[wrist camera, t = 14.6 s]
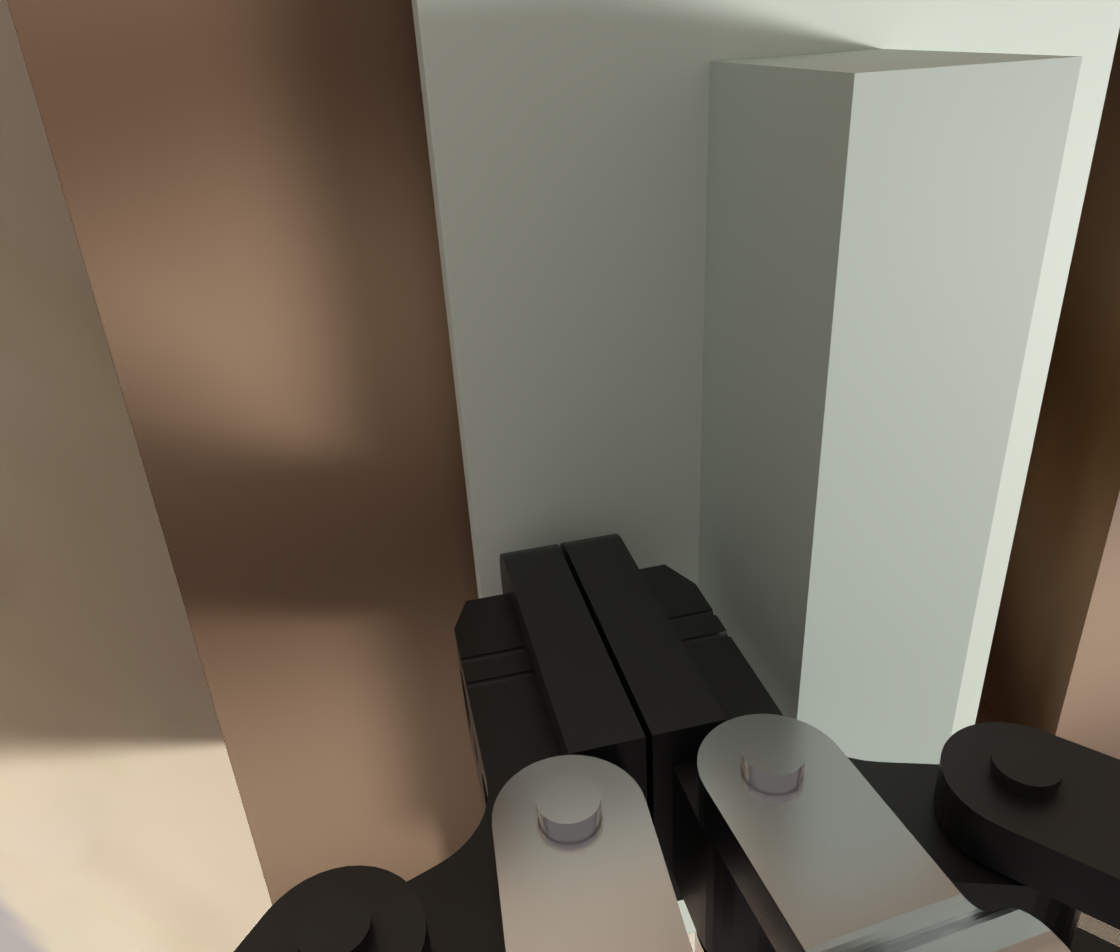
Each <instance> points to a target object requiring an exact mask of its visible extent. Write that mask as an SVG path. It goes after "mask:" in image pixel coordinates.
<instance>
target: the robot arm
mask: <svg viewBox="0 0 1120 952" xmlns="http://www.w3.org/2000/svg"><path fill="white" fill-rule="evenodd" d="M500 573H501V583H502V592H503V594H501V595H496V596H490V597H485V598H479V599H474V600H468V601H466V602H465V604H464V607H463V609H462V612H461V614H460V616H459V619H458V621H457V624H456V626H455V628H454V632H455V639H456V646H457V653H458V660H459V667H460V674H461V681H462V688H463V695H464V702H465V710H466V717H467V724H468V729H469V734H470V739H471V744H472V749H473V754H474V758H475V764H476V769H477V773H478V778H479V783H480V787H481V793H482V798H483V803H484V808H485V812H484V815H483V817H482V820H481V822H480V824H479V826H478V827H477V829H476V830H475V832H474V833H473V835H472V836H471V837H470V838H469V839H468V841H467V842H466V843H465V844H464V845H463V846H462V847H461V848H460V849H459V850H457V851H456V852H455V853H454V854H453V855H451V856H450V857H449V858H447V859H446V860H444V861H442V862H441V863H439V864H438V865H436V866H434V867H432V868H431V869H429V870H427V871H425V872H423V873H421V874H420V875H418V876H416V877H414V878H412V879H411V880H409V881H407V882H406V881H405V880H404V879H402V878H401V877H400V876H398V875H396V874H394V873H392V872H390V871H388V870H385V869H381V868H378V867H373V866H364V865H357V866H345V867H339V868H334V869H331V870H328V871H324V872H321V873H318V874H316V875H314V876H312V877H310V878H308V879H306V880H304V881H302V882H301V883H299V884H298V885H296V886H294V887H293V888H291V889H290V890H289V891H288V892H286V893H285V894H284V895H283V896H282V897H280V898H279V899H278V900H277V901H276V902H275V903H274V904H273V906H272V907H271V908H270V909H269V910H268V911H267V912H266V913H265V915H264V916H263V917H262V918H261V919H260V921H259V922H258V923H257V924H256V925H255V927H254V928H253V929H252V930H251V931H250V933H249V934H248V935H247V936H246V938H245V939H244V940H243V941H242V942H241V944H240V945H239V946H238V947H237V948H236V950H235V951H234V952H693V950H692V947H691V944H690V941H689V938H688V934H687V931H686V928H685V925H684V922H683V918H682V915H681V912H680V909H679V906H678V902H677V901H680V900H684V902H685V904H686V907H687V909H688V912H689V914H690V917H691V919H692V921H693V924H694V926H695V952H1120V947H1118V946H1116V945H1113V944H1111V943H1109V942H1107V941H1105V940H1103V939H1101V938H1099V937H1097V936H1095V935H1093V934H1091V933H1088V932H1086V931H1084V930H1082V929H1080V928H1078V927H1077V924H1078V921H1079V918H1080V914H1081V912H1083V913H1085V914H1087V915H1090V916H1092V917H1094V918H1096V919H1098V920H1100V921H1102V922H1104V923H1107V924H1109V925H1111V926H1113V927H1115V928H1117V929H1119V930H1120V759H1117V758H1114V757H1112V756H1109V755H1106V754H1104V753H1101V752H1098V751H1096V750H1093V749H1090V748H1088V747H1085V746H1082V745H1080V744H1077V743H1074V742H1072V741H1069V740H1066V739H1064V738H1061V737H1058V736H1056V735H1053V734H1050V733H1048V732H1045V731H1042V730H1039V729H1036V728H1033V727H1029V726H1024V725H1020V724H1014V723H1005V722H987V723H979V724H975V725H971V726H967V727H965V728H963V729H961V730H959V731H957V732H956V733H954V734H953V735H952V736H951V737H950V738H949V739H948V740H947V741H946V743H945V744H944V747H943V749H942V752H941V757H940V763H939V764H918V763H894V762H875V761H864V760H859V759H854V758H849V757H847V756H846V755H845V754H844V753H843V751H842V750H841V749H840V748H839V747H838V745H837V744H836V743H835V742H834V741H833V740H832V739H831V738H830V737H828V736H827V735H826V734H824V733H823V732H822V731H820V730H819V729H817V728H815V727H813V726H811V725H810V724H807V723H805V722H802V721H800V720H797V719H794V718H790V717H787V716H783V714H782V713H781V711H780V710H779V708H778V707H777V705H776V704H775V702H774V701H773V699H772V698H771V696H770V695H769V693H768V692H767V690H766V689H765V687H764V686H763V684H762V683H761V681H760V680H759V678H758V677H757V675H756V674H755V672H754V671H753V669H752V668H751V666H750V665H749V663H748V662H747V660H746V659H745V657H744V656H743V654H742V653H741V651H740V650H739V648H738V647H737V645H736V644H735V642H734V641H733V639H732V638H731V636H730V637H728V635H727V630H726V629H725V627H724V626H723V624H722V623H721V621H720V620H719V618H718V617H717V615H714V614H713V609H712V608H711V606H710V605H709V603H708V602H707V600H706V599H705V597H704V596H703V594H702V593H701V591H700V590H699V588H698V587H697V585H696V584H695V583H694V582H692V581H690V580H689V579H687V578H686V577H684V576H682V575H681V574H679V573H678V572H676V571H675V570H673V569H671V568H670V567H668V566H667V565H665V564H664V565H659V566H653V567H648V568H642V569H639V568H638V566H637V564H636V563H635V561H634V559H633V557H632V556H631V554H630V552H629V551H628V549H627V547H626V545H625V544H624V542H623V540H622V539H621V537H620V536H619V535H618V534H610V535H604V536H598V537H593V538H587V539H581V540H576V541H570V542H564V543H560V545H558V544H554V545H548V546H542V547H537V548H531V549H525V550H519V551H514V552H508V553H502V554H500Z"/></svg>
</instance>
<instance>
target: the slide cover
mask: <svg viewBox="0 0 1120 952" xmlns="http://www.w3.org/2000/svg"><path fill="white" fill-rule="evenodd" d="M412 9H413V18H414V27H415V36H416V45H417V54H418V62H419V71H420V80H421V89H422V98H423V107H424V116H425V125H426V134H427V143H428V152H429V161H430V170H431V179H432V188H433V197H434V205H435V214H436V223H437V232H438V241H439V250H440V259H441V268H442V277H443V286H444V295H445V304H446V313H447V322H448V331H449V340H450V348H451V357H452V366H453V375H454V384H455V393H456V402H457V411H458V420H459V429H460V438H461V447H462V456H463V465H464V474H465V483H466V491H467V500H468V509H469V518H470V527H471V536H472V545H473V554H474V563H475V572H476V581H477V590H478V599H479V598H485V597H490V596H496V595H501V594H503V592H502V583H501V573H500V554H502V553H508V552H514V551H519V550H525V549H531V548H537V547H542V546H548V545H554V544H558V545H560V543H564V542H570V541H576V540H581V539H587V538H593V537H598V536H604V535H610V534H618V535H619V536H620V537H621V539H622V540H623V542H624V544H625V545H626V547H627V549H628V551H629V552H630V554H631V556H632V557H633V559H634V561H635V563H636V564H637V566H638V568H639V569H642V568H648V567H653V566H659V565H664V564H665V565H667V566H668V567H670V568H671V569H673V570H675V571H676V572H678V573H679V574H681V575H682V576H684V577H686V578H687V579H689V580H690V581H692V582H694V583H695V584H696V585H697V587H698V588H699V590H700V591H701V593H702V594H703V596H704V597H705V599H706V600H707V602H708V603H709V605H710V606H711V608H712V609H713V614H714V615H717V617H718V618H719V620H720V621H721V623H722V624H723V626H724V627H725V629H726V630H727V635H728V637H730V636H731V638H732V639H733V641H734V642H735V644H736V645H737V647H738V648H739V650H740V651H741V653H742V654H743V656H744V657H745V659H746V660H747V662H748V663H749V665H750V666H751V668H752V669H753V671H754V672H755V674H756V675H757V677H758V678H759V680H760V681H761V683H762V684H763V686H764V687H765V689H766V690H767V692H768V693H769V695H770V696H771V698H772V699H773V701H774V702H775V704H776V705H777V707H778V708H779V710H780V711H781V713H782V714H783V716H787V717H790V718H794V719H797V720H800V721H802V722H805V723H807V724H810V725H811V726H813V727H815V728H817V729H819V730H820V731H822V732H823V733H824V734H826V735H827V736H828V737H830V738H831V739H832V740H833V741H834V742H835V743H836V744H837V745H838V747H839V748H840V749H841V750H842V751H843V753H844V754H845V755H846V756H847V757H849V758H854V759H859V760H864V761H875V762H894V763H918V764H939V763H940V757H941V752H942V749H943V747H944V744H945V743H946V741H947V740H948V739H949V738H950V737H951V736H952V735H953V734H954V733H956V732H957V731H959V730H961V729H963V728H965V727H967V726H971V725H975V721H976V717H977V712H978V707H979V702H980V697H981V693H982V688H983V683H984V678H985V673H986V668H987V664H988V659H989V654H990V649H991V644H992V640H993V635H994V630H995V625H996V620H997V616H998V611H999V606H1000V601H1001V596H1002V592H1003V587H1004V582H1005V577H1006V572H1007V567H1008V563H1009V558H1010V553H1011V548H1012V543H1013V539H1014V534H1015V529H1016V524H1017V519H1018V515H1019V510H1020V505H1021V500H1022V495H1023V490H1024V486H1025V481H1026V476H1027V471H1028V466H1029V462H1030V457H1031V452H1032V447H1033V442H1034V438H1035V433H1036V428H1037V423H1038V418H1039V413H1040V409H1041V404H1042V399H1043V394H1044V389H1045V385H1046V380H1047V375H1048V370H1049V365H1050V361H1051V356H1052V351H1053V346H1054V341H1055V337H1056V332H1057V327H1058V322H1059V317H1060V312H1061V308H1062V303H1063V298H1064V293H1065V288H1066V284H1067V279H1068V274H1069V269H1070V264H1071V260H1072V255H1073V250H1074V245H1075V240H1076V235H1077V231H1078V226H1079V221H1080V216H1081V211H1082V207H1083V202H1084V197H1085V192H1086V187H1087V183H1088V178H1089V173H1090V168H1091V163H1092V158H1093V154H1094V149H1095V144H1096V139H1097V134H1098V130H1099V125H1100V120H1101V115H1102V110H1103V106H1104V101H1105V96H1106V91H1107V86H1108V82H1109V77H1110V72H1111V67H1112V62H1113V57H1114V53H1115V48H1116V43H1117V38H1118V33H1119V29H1120V0H412ZM677 902H678V906H679V909H680V912H681V915H682V918H683V922H684V925H685V928H686V931H687V934H689V933H693V932H695V926H694V924H693V921H692V919H691V917H690V914H689V912H688V909H687V907H686V904H685V902H684V900H680V901H677Z"/></svg>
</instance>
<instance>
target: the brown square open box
mask: <svg viewBox="0 0 1120 952" xmlns="http://www.w3.org/2000/svg"><path fill="white" fill-rule="evenodd" d="M7 1H8V4H9V8H10V11H11V14H12V18H13V21H14V25H15V28H16V31H17V35H18V38H19V42H20V45H21V49H22V52H23V55H24V59H25V62H26V66H27V69H28V72H29V76H30V79H31V83H32V86H33V90H34V93H35V96H36V100H37V103H38V107H39V110H40V113H41V117H42V120H43V124H44V127H45V131H46V134H47V137H48V141H49V144H50V148H51V151H52V154H53V158H54V161H55V165H56V168H57V171H58V175H59V178H60V182H61V185H62V189H63V192H64V195H65V199H66V202H67V206H68V209H69V212H70V216H71V219H72V223H73V226H74V230H75V233H76V236H77V240H78V243H79V247H80V250H81V253H82V257H83V260H84V264H85V267H86V270H87V274H88V277H89V281H90V284H91V288H92V291H93V294H94V298H95V301H96V305H97V308H98V311H99V315H100V318H101V322H102V325H103V329H104V332H105V335H106V339H107V342H108V346H109V349H110V352H111V356H112V359H113V363H114V366H115V369H116V373H117V376H118V380H119V383H120V387H121V390H122V393H123V397H124V400H125V404H126V407H127V410H128V414H129V417H130V421H131V424H132V428H133V431H134V434H135V438H136V441H137V445H138V448H139V451H140V455H141V458H142V462H143V465H144V468H145V472H146V475H147V479H148V482H149V486H150V489H151V492H152V496H153V499H154V503H155V506H156V509H157V513H158V516H159V520H160V523H161V527H162V530H163V533H164V537H165V540H166V544H167V547H168V550H169V554H170V557H171V561H172V564H173V567H174V571H175V574H176V578H177V581H178V585H179V588H180V591H181V595H182V598H183V602H184V605H185V608H186V612H187V615H188V619H189V622H190V626H191V629H192V632H193V636H194V639H195V643H196V646H197V649H198V653H199V656H200V660H201V663H202V666H203V670H204V673H205V677H206V680H207V684H208V687H209V690H210V694H211V697H212V701H213V704H214V707H215V711H216V714H217V718H218V721H219V725H220V728H221V731H222V735H223V738H224V742H225V745H226V748H227V752H228V755H229V759H230V762H231V765H232V769H233V772H234V776H235V779H236V783H237V786H238V789H239V793H240V796H241V800H242V803H243V806H244V810H245V813H246V817H247V820H248V824H249V827H250V830H251V834H252V837H253V841H254V844H255V847H256V851H257V854H258V858H259V861H260V864H261V868H262V871H263V875H264V878H265V882H266V885H267V888H268V892H269V895H270V899H271V902H272V905H273V904H274V903H275V902H276V901H277V900H278V899H279V898H280V897H282V896H283V895H284V894H285V893H286V892H288V891H289V890H290V889H291V888H293V887H294V886H296V885H298V884H299V883H301V882H302V881H304V880H306V879H308V878H310V877H312V876H314V875H316V874H318V873H321V872H324V871H328V870H331V869H334V868H339V867H345V866H357V865H364V866H373V867H378V868H381V869H385V870H388V871H390V872H392V873H394V874H396V875H398V876H400V877H401V878H402V879H404V880H405V881H406V882H407V881H409V880H411V879H412V878H414V877H416V876H418V875H420V874H421V873H423V872H425V871H427V870H429V869H431V868H432V867H434V866H436V865H438V864H439V863H441V862H442V861H444V860H446V859H447V858H449V857H450V856H451V855H453V854H454V853H455V852H456V851H457V850H459V849H460V848H461V847H462V846H463V845H464V844H465V843H466V842H467V841H468V839H469V838H470V837H471V836H472V835H473V833H474V832H475V830H476V829H477V827H478V826H479V824H480V822H481V820H482V817H483V815H484V812H485V808H484V803H483V798H482V793H481V787H480V783H479V778H478V773H477V769H476V764H475V758H474V754H473V749H472V744H471V739H470V734H469V729H468V724H467V717H466V710H465V702H464V695H463V688H462V681H461V674H460V667H459V660H458V653H457V646H456V639H455V632H454V628H455V626H456V624H457V621H458V619H459V616H460V614H461V612H462V609H463V607H464V604H465V602H466V601H468V600H474V599H478V590H477V581H476V572H475V563H474V554H473V545H472V536H471V527H470V518H469V509H468V500H467V491H466V483H465V474H464V465H463V456H462V447H461V438H460V429H459V420H458V411H457V402H456V393H455V384H454V375H453V366H452V357H451V348H450V340H449V331H448V322H447V313H446V304H445V295H444V286H443V277H442V268H441V259H440V250H439V241H438V232H437V223H436V214H435V205H434V197H433V188H432V179H431V170H430V161H429V152H428V143H427V134H426V125H425V116H424V107H423V98H422V89H421V80H420V71H419V62H418V54H417V45H416V36H415V27H414V18H413V9H412V0H7ZM987 722H1005V723H1014V724H1020V725H1024V726H1029V727H1033V728H1036V729H1039V730H1042V731H1045V732H1048V733H1050V734H1053V735H1056V736H1058V737H1061V738H1064V739H1066V740H1069V741H1072V742H1074V743H1077V744H1080V745H1082V746H1085V747H1088V748H1090V749H1093V750H1096V751H1098V752H1101V753H1104V754H1106V755H1109V756H1112V757H1114V758H1117V759H1120V29H1119V33H1118V38H1117V43H1116V48H1115V53H1114V57H1113V62H1112V67H1111V72H1110V77H1109V82H1108V86H1107V91H1106V96H1105V101H1104V106H1103V110H1102V115H1101V120H1100V125H1099V130H1098V134H1097V139H1096V144H1095V149H1094V154H1093V158H1092V163H1091V168H1090V173H1089V178H1088V183H1087V187H1086V192H1085V197H1084V202H1083V207H1082V211H1081V216H1080V221H1079V226H1078V231H1077V235H1076V240H1075V245H1074V250H1073V255H1072V260H1071V264H1070V269H1069V274H1068V279H1067V284H1066V288H1065V293H1064V298H1063V303H1062V308H1061V312H1060V317H1059V322H1058V327H1057V332H1056V337H1055V341H1054V346H1053V351H1052V356H1051V361H1050V365H1049V370H1048V375H1047V380H1046V385H1045V389H1044V394H1043V399H1042V404H1041V409H1040V413H1039V418H1038V423H1037V428H1036V433H1035V438H1034V442H1033V447H1032V452H1031V457H1030V462H1029V466H1028V471H1027V476H1026V481H1025V486H1024V490H1023V495H1022V500H1021V505H1020V510H1019V515H1018V519H1017V524H1016V529H1015V534H1014V539H1013V543H1012V548H1011V553H1010V558H1009V563H1008V567H1007V572H1006V577H1005V582H1004V587H1003V592H1002V596H1001V601H1000V606H999V611H998V616H997V620H996V625H995V630H994V635H993V640H992V644H991V649H990V654H989V659H988V664H987V668H986V673H985V678H984V683H983V688H982V693H981V697H980V702H979V707H978V712H977V717H976V721H975V724H979V723H987Z"/></svg>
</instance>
